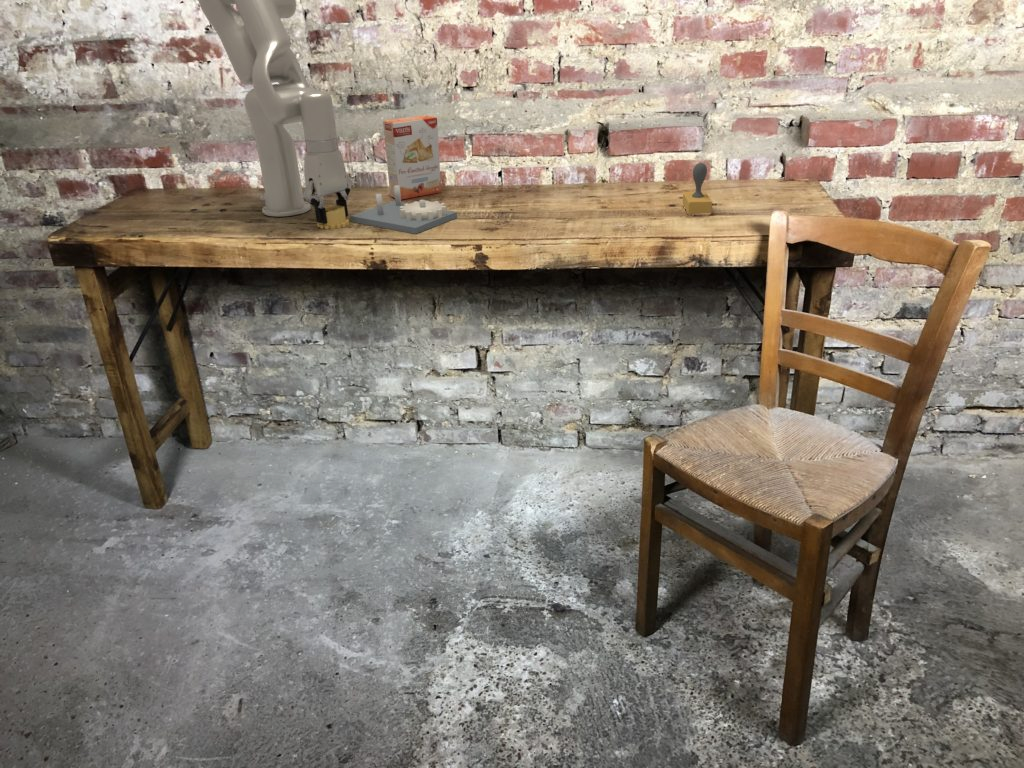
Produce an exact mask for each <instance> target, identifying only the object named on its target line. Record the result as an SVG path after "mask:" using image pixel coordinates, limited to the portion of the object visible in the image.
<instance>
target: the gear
mask: <svg viewBox="0 0 1024 768" xmlns="http://www.w3.org/2000/svg"><path fill="white" fill-rule="evenodd" d="M323 207H324V208H325V209H326V216H327V223H326V224H322V223H318V222H317V221H316V226H317V228H319V227H320V228H319V229H322V230H323V228H324V229H325V230H330V229H331V230H333V229H334V230H335V229H341V228H345V227H347V226H349V225H350V222H351V221H350V218H347V217H346V215H345V208H344V206H338V205H336V204H335V205H324V206H323Z"/></svg>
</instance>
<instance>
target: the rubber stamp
mask: <svg viewBox="0 0 1024 768" xmlns="http://www.w3.org/2000/svg"><path fill="white" fill-rule="evenodd" d="M707 174H708V167H707V166H706V164H705V163H702V162H697V163H696V164H695V165H694V167H693V169H692V178H693V181H694V184H695V191H684V192H683V193H682V203H683V205H684V207H685V209H686V211H687V213H689V214H691V213H692V214H693V213H711V214H712V209H713V201H712V199H711V198H710V197H709V195H708V194H707V193H706V191H702V186H703V183H704V182H705V179H706V177H707ZM683 205H682V206H683ZM684 207H683V208H684ZM685 209H684V210H685ZM686 211H685V212H686ZM687 213H686V214H687Z"/></svg>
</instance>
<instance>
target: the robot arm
mask: <svg viewBox="0 0 1024 768" xmlns="http://www.w3.org/2000/svg"><path fill="white" fill-rule="evenodd" d="M197 1H198V4H199V6H200V9H201V11H202V12H203V15H204V16H205V18H206V19H207V21H208V22H209V24H210V25H211V26H212V28H213V29H214V30H215V32H216V34H217V35H218V38H219V40H220V42H221V44H222V46H223V48H224V50H225V52H226V55H227V57H228V60H229V62H230V64H231V66H232V68H233V70H234V72H235V74H236V76H237V77H238V80H240V81H241V83H243V84H245V85H249V86H252V87H253V88H252V89H250V90H249V91H248V92H247V93H246V94H245V97H244V106H245V107H244V108H245V110H246V114H247V116H248V119H249V122H250V125H251V128H252V131H253V135H254V139H255V144H256V149H257V150H256V151H257V155H258V156H257V157H258V161H259V166H260V171H261V176H262V182H263V188H264V192H263V194H260V196H259V199H260V201H264V202H265V205H264V206H263V207H262V209H261V210H262V213H263V214H264V215H265V216H268V217H275V218H276V217H290V216H298V215H300V214H305V213H307V212H309V211H310V210H311V209H312V208H311V207H313V208H314V212H315V213H314V215H315V219H316V223H317V222H318V223H322V224H326V223H327V216H326V209H325V208H324V207H325V206H324V203H325V197H326V196H331V195H333V194H335V196H336V198H337V199H336V200H335V205H338V206H344V208H345V215H346V218H347V217H349V210H348V204H347V201H348V200H349V195H350V193H351V189H352V187H353V185H354V182H353V180H351V179H350V178H349V177H348V176H347V170H346V166H345V163H344V158H343V155H342V151H341V149H339V143H340V142H341V141H340V138H339V137H338V134H337V128H336V119H335V113H334V104H333V99H332V98H333V97H332V96H331V94H330V93H329V92H328V91H326V90H325V91H324V90H316V89H314V88H311V87H310V86H309V83H308V81H307V79H306V77H305V75H304V72H303V70H302V67H301V65H300V63H299V61H298V58H297V57H296V54H295V53H294V51H293V50H292V49H291V46H292V44H291V43H292V42H291V40H290V37H289V34H288V33H287V30H286V28H285V25H284V23H283V21H282V20H283V19H289V18H292V17H293V16H294V15H295V14H296V11H297V1H296V0H197ZM232 5H235V7H236V9H237V10H236V9H235V8H234V7H233V6H232ZM273 83H274V84H273ZM275 83H276V84H275ZM294 123H302V129H303V134H304V139H305V140H304V141H305V147H306V153H305V154H304V159H303V168H304V181H305V182H304V183H305V189H304V191H303V188H302V187H303V186H302V181H301V174H300V169H299V168H300V167H299V162H298V161H299V160H298V154H297V151H296V150H297V149H296V145H295V141H294V138H293V137H292V135H291V134H290V133H289V132H288V130H287V129H286V128H285V127H284V125H288V124H294ZM304 199H305V200H306V201H305V200H304Z"/></svg>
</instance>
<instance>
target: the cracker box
mask: <svg viewBox="0 0 1024 768" xmlns="http://www.w3.org/2000/svg"><path fill="white" fill-rule="evenodd" d="M382 124H383V133H384V134H383V135H384V142H385V154H386V166H387V177H388V186H389V196H390V197H391V198H394V199H395V192H394V186H395V185H399V186H400V194H401V201H402V200H407V199H413V198H417V197H418V196H419V197H424V196H429V195H434V194H440V193H442V183H441V182H442V181H441V180H442V179H441V167H440V166H441V164H440V150H439V149H440V148H439V147H440V146H439V133H438V132H439V131H438V130H439V129H438V118H437V117H436V116H433V115H428V114H425V115H418V116H417V115H416V116H409V117H400V118H391V119H386V120H383V121H382Z"/></svg>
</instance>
